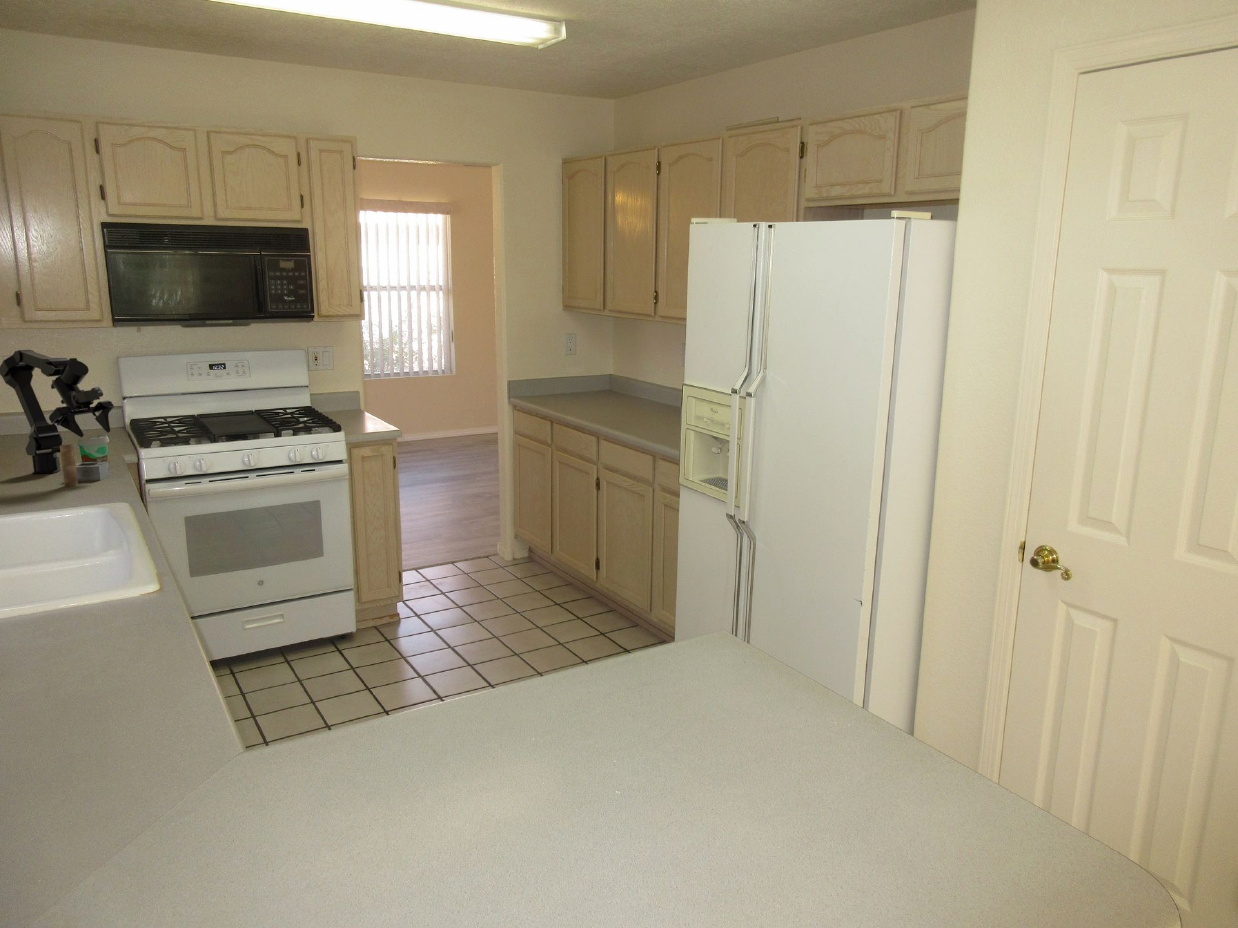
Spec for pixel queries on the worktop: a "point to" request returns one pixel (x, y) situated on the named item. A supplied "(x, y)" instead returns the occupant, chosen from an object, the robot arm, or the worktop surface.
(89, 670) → the worktop surface
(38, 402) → the robot arm
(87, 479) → the block
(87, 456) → the food container
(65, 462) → the dowel
